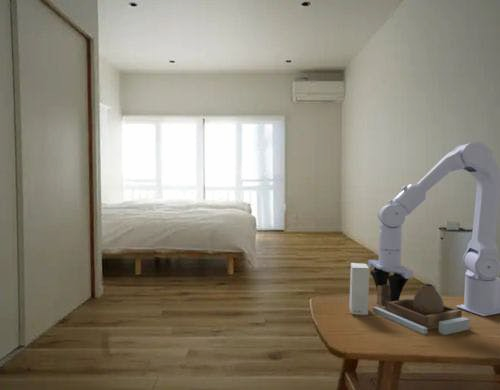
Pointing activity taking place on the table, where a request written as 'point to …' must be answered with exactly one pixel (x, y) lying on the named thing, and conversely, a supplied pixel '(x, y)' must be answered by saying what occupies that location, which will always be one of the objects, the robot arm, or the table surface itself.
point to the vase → (428, 301)
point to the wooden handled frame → (406, 309)
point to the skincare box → (359, 288)
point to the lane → (444, 327)
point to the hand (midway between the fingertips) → (388, 298)
